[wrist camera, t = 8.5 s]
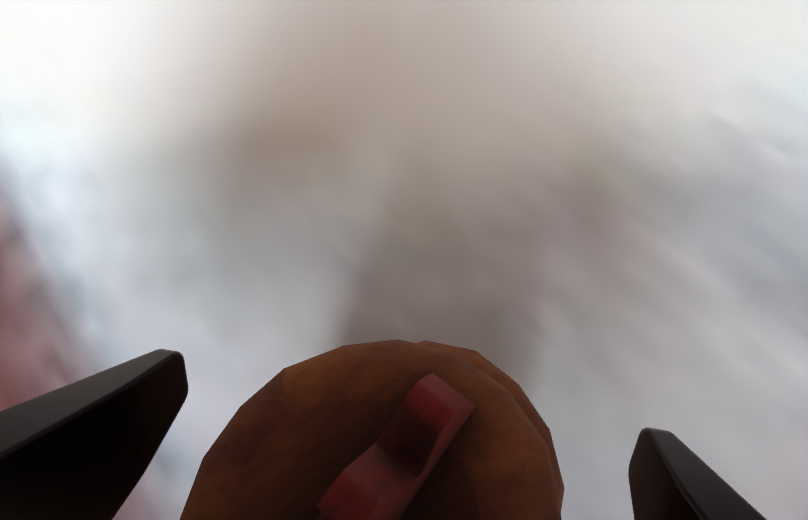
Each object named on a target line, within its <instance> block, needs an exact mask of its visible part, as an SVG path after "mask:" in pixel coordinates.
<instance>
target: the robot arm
mask: <svg viewBox="0 0 808 520" xmlns="http://www.w3.org/2000/svg"><path fill="white" fill-rule="evenodd" d="M187 394H188V382H187V375H186V369H185V362H184V357H183V355H182V354H181V353H180V352H177V351H171V350H165V349H158V350H155V351H152V352H150V353H147V354H145V355H142V356H140V357H137V358H135V359H132V360H130V361H127V362H125V363H122V364H120V365H117V366H115V367H112V368H109V369H107V370H104V371H102V372H99V373H97V374H94V375H92V376H89V377H87V378H84V379H82V380H79V381H77V382H74V383H71V384H69V385H66V386H64V387H61V388H59V389H56V390H54V391H51V392H49V393H46V394H44V395H41V396H39V397H36V398H33V399H31V400H28V401H26V402H23V403H21V404H18V405H16V406H13V407H11V408H8V409H6V410H3V411H1V412H0V520H112V519H113V518H114V516H115V515H116V513H117V512H118V510H119V509H120V507H121V506H122V505H123V503H124V502H125V500H126V499H127V497H128V496H129V495H130V493H131V492H132V490H133V489H134V487H135V486H136V484H137V483H138V481H139V480H140V478H141V477H142V475H143V474H144V472H145V471H146V469H147V467H148V466H149V464H150V462H151V461H152V459H153V457H154V455H155V454H156V452H157V450H158V448H159V446H160V445H161V443H162V441H163V439H164V438H165V436H166V434H167V432H168V430H169V429H170V427H171V425H172V423H173V421H174V420H175V418H176V416H177V414H178V413H179V411H180V409H181V407H182V405H183V404H184V402H185V400H186V397H187ZM629 484H630V491H631V498H632V505H633V513H634V520H766V519H765V518H764V517H763V516H762V515H761V514H760V513H759V512H758V511H757V510H756V509H754V508H753V507H752V506H751V505H750V504H749V503H748V502H747V501H746V500H745V499H744V498H742V497H741V496H740V495H739V494H738V493H737V492H736V491H735V490H734V489H733V488H732V487H730V486H729V485H728V484H727V483H726V482H725V481H724V480H723V479H722V478H721V477H720V476H718V475H717V474H716V473H715V472H714V471H713V470H712V469H711V468H710V467H709V466H708V465H707V464H705V463H704V462H703V461H702V460H701V459H700V458H699V457H698V456H697V455H696V454H695V453H693V452H692V451H691V450H690V449H689V448H688V447H687V446H686V445H685V444H684V443H683V442H681V441H680V440H679V439H678V438H677V437H676V436H675V435H674V434H672V433H671V432H669V431H666V430H660V429H654V428H644V429H642V431H641V432H640V434H639V437H638V440H637V443H636V446H635V449H634V451H633V454H632V457H631V460H630V464H629Z"/></svg>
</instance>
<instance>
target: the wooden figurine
mask: <svg viewBox="0 0 808 520" xmlns="http://www.w3.org/2000/svg"><path fill="white" fill-rule="evenodd" d="M563 494H564V485H563V481H562V477H561V473H560V469H559V465H558V461H557V457H556V453H555V449H554V445H553V441H552V437H551V434H550V430H549V428H548V427H547V425H546V424H545V422H544V421H543V419H542V418H541V417H540V415H539V414H538V412H537V411H536V409H535V408H534V406H533V405H532V403H531V402H530V400H529V399H528V398H527V396H526V395H525V393H524V392H523V390H522V389H521V387H520V386H519V384H517V383H516V382H515V381H514V380H512V379H511V378H510V377H509V376H507V375H506V374H505V373H503V372H502V371H501V370H500V369H498V368H497V367H496V366H494V365H493V364H492V363H491V362H489V361H488V360H487V359H485V358H484V357H483V356H482V355H480V354H479V353H478V352H476V351H473V350H468V349H464V348H459V347H454V346H449V345H444V344H439V343H435V342H430V341H423V342H419V343H411V342H407V341H402V340H390V341H381V342H372V343H364V344H355V345H347V346H342V347H339V348H337V349H334V350H332V351H329V352H326V353H324V354H321V355H318V356H316V357H313V358H311V359H308V360H305V361H303V362H300V363H297V364H295V365H292V366H290V367H287V368H284V369H283V370H282V371H281V372H280V373H278V374H277V375H276V376H275V377H274V378H273V379H272V380H270V381H269V382H268V383H267V384H266V385H265V386H264V387H262V388H261V389H260V390H259V391H258V392H257V393H255V394H254V395H253V396H252V397H251V398H250V399H249V400H247V401H246V402H245V403H244V404H243V405H242V406H241V407H240V408H239V409H238V411H237V412H236V413H235V415H234V416H233V417H232V419H231V420H230V422H229V423H228V424H227V426H226V427H225V428H224V430H223V431H222V433H221V434H220V435H219V437H218V438H217V440H216V441H215V442H214V444H213V445H212V446H211V448H210V449H209V451H208V452H207V453H206V455H205V456H204V458H203V460H202V462H201V465H200V468H199V470H198V473H197V475H196V478H195V481H194V483H193V486H192V489H191V491H190V494H189V497H188V499H187V502H186V504H185V507H184V510H183V512H182V515H181V518H180V520H561V507H562V500H563Z"/></svg>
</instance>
